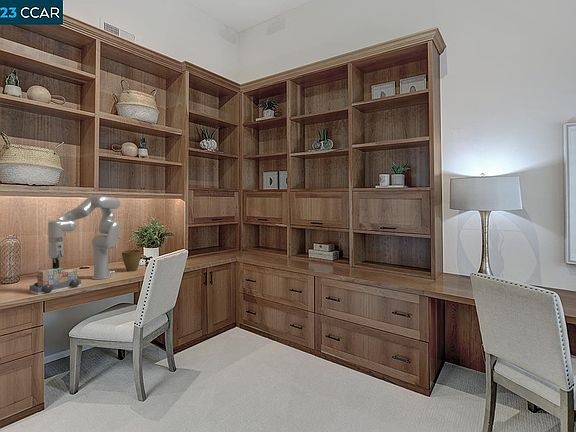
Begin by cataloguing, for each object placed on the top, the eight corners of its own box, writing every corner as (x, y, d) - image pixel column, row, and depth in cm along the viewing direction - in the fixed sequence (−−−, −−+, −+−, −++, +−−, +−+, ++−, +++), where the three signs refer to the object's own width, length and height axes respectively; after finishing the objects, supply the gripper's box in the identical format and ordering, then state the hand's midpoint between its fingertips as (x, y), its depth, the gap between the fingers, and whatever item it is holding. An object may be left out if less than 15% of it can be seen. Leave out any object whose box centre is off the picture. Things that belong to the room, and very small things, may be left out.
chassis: (71, 283, 235) (71, 276, 235) (82, 285, 228) (82, 278, 228) (28, 291, 213) (28, 283, 212) (39, 294, 206) (39, 286, 206)
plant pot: (121, 269, 282) (121, 250, 281) (140, 268, 289) (140, 249, 288) (122, 273, 268) (121, 253, 268) (142, 271, 276) (142, 251, 275)
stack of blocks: (71, 282, 233) (71, 264, 232) (77, 283, 230) (77, 265, 229) (37, 289, 213) (36, 270, 213) (43, 291, 211) (42, 271, 210)
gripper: (67, 240, 218) (68, 268, 219) (55, 238, 226) (56, 266, 227) (55, 241, 212) (55, 270, 213) (43, 239, 219) (43, 267, 220)
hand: (55, 268), depth 220 cm, fingers closed
